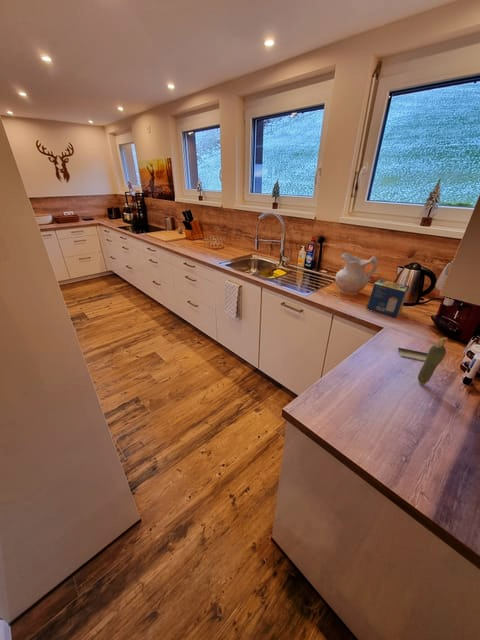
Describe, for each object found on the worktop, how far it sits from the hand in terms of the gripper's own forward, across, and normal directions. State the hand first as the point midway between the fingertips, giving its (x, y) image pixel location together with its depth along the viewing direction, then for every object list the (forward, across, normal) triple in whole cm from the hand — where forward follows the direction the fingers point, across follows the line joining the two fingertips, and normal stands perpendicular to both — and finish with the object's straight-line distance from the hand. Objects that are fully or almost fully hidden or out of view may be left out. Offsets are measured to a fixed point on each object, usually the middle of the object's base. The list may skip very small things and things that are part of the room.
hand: (460, 304), depth 79 cm
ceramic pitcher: (+31, +22, +83) cm, 92 cm away
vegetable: (+31, 0, 0) cm, 31 cm away
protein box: (+31, +25, +56) cm, 69 cm away
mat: (+31, +12, +17) cm, 38 cm away
